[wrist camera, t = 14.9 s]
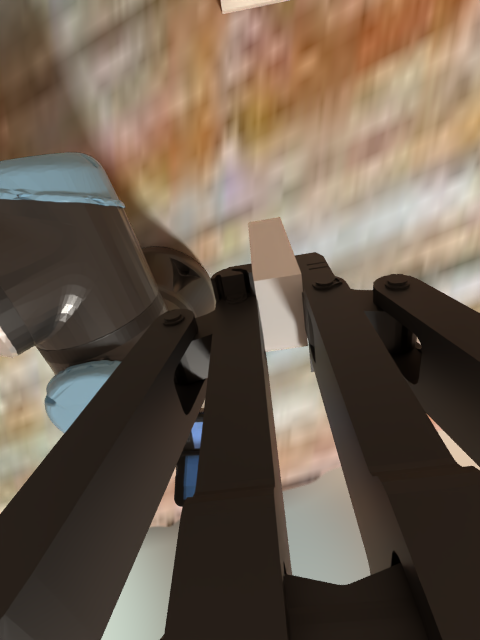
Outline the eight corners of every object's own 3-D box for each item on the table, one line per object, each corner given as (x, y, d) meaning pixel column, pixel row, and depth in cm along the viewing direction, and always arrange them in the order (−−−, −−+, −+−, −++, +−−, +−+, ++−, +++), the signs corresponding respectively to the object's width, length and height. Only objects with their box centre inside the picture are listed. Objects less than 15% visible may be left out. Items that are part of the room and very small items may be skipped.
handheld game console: (259, 407, 62) (262, 452, 54) (262, 458, 68) (265, 505, 61) (169, 412, 62) (159, 457, 54) (181, 462, 69) (173, 508, 61)
